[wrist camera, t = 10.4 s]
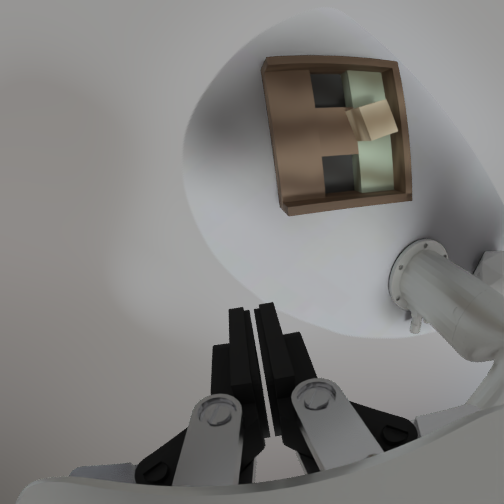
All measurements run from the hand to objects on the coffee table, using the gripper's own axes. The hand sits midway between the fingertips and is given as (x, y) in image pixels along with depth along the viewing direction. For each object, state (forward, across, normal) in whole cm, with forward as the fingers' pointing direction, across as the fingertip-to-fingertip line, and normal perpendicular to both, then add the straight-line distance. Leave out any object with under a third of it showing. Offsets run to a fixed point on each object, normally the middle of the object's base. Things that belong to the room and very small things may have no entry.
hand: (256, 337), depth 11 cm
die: (+27, -46, +17) cm, 56 cm away
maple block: (+25, -17, -9) cm, 31 cm away
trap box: (+27, -14, -8) cm, 31 cm away
